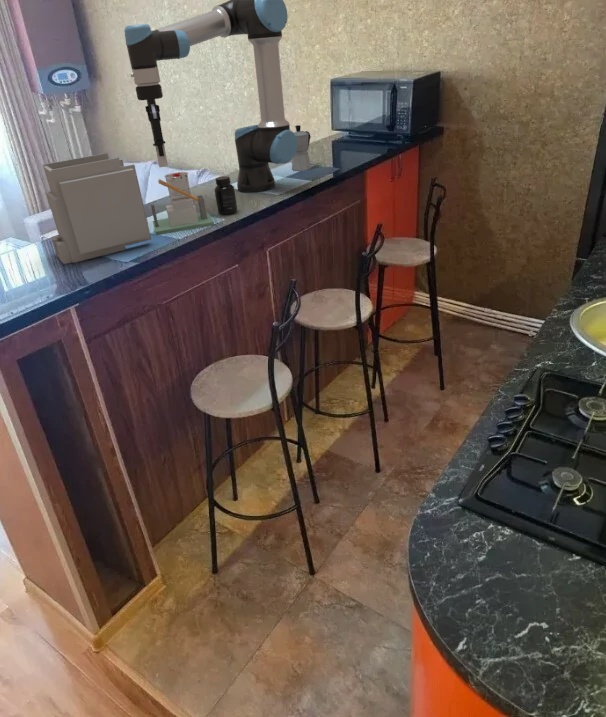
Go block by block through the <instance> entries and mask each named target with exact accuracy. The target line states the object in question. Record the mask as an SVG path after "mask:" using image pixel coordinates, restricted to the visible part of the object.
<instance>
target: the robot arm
mask: <svg viewBox="0 0 606 717" xmlns="http://www.w3.org/2000/svg"><path fill="white" fill-rule="evenodd" d="M288 17H289V16H288V9H287V6H286V3H285V1H284V0H227V1H226V2H223V3H220V4H218V5H215V6H214V7H213V8H212V9H211V11H208V12H205V13H202V14H199V15H196V16H192V17H190V18H187V19H183V20H180V21H178V22H174V23H172V24H168V25H165V26H163V27H159V28H157V29H154V30H152V29H151V26H150V25H149V24H147V23H146V24H145V23H144V24H132V25H126V26H125V28H124V37H125V45H126V49H127V52H128V58H129V63H130V69H131V71H132V73H130V77H131V78H133V81H134V85H137V86H135V92H136V97H137V100H139V101H146V103H147V105H145V106H144V108H145V112H146V113H147V118H148V121H149V123H150V127H151V131H152V137H153V140H152V141H153V143H152V146H153V147H155V152H156V156H157V157H156V158H157V162H158V167H159V168H166V167H169V162H168V159H167V153H166V148H165V144H166V141H165V140H164V136H163V130H162V125H161V119H162V118H161V113H160V111H161V108H160V106H159V104H156V100H158V99H162V98H163V97H164V95H163V89H162V85H161V84H159V83H160V82H161V78H160V77H161V76H160V72H159V68H158V62H157V61H165V60H166V61H167V60H168V61H169V60H180V59H183V58H187V57H188V56H189V54H190V52H191V51H190V50H191V47H192V46H195V45H197V44H198V45H199V44H200V43H203V42H206V41H209V40H212V39H214V38H218V37H221V38H227V37H231V36H238V35H239V36H241V35H247V41H248V42H249V43H250V44H251V45H252V47H253V54H254V55H253V56H254V64H255V67H254V68H255V76H256V83H257V94H258V105H259V112H260V122H259V123H258V124H254V125H249V126H243V127H240V128H237V129H235V131H234V143H235V147H236V148H235V150H236V156H237V161H238V162H237V163H238V168H239V169H238V175H237V182H236V186H237V188H236V189H237V191H238V192H243V193H257V192H263V191H268V190H271V189H274V188H275V187H276V180H275V178H274V175H273V173H272V169H271V168H270V164H269V163H271V164H276V165H280V164H281V165H282V164H287V163H290V162H291V161H292V158H293V156H294V155H295V154H296V151H297V146H298V142H297V137H296V135H294V132H293V130H291V128H290V126H291V125H290V122H289V121H288V120H287V119H286V117H285V106H284V105H285V104H284V94H283V93H284V92H283V84H282V72H281V71H282V69H281V61H280V50H279V49H280V48H279V43H280V41H281V39H282V38H283V30H284V29H285V27H286V26H287V25H286V24H287V22H288Z"/></svg>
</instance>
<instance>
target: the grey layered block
mask: <svg viewBox="0 0 606 717" xmlns="http://www.w3.org/2000/svg"><path fill="white" fill-rule="evenodd" d="M124 164H125V163H124V160H123V159H120V158H119V157H113V158H110V156H109V153H108V152H106V153H99V154H94V155H88V156H87V155H86V156H82V157H77V158H71V159H66V160H62V161H54V162H50V163H43V164H42V167H43V171H44V174H45V177H46V181H47V183H48V187H49V190H50V191H46V192H45V195H46V198H47V202H48V204H49V208H50V211H51V214H52V218H53V221H54V225H55V227H56V231H57V234H58V235H55V236H54V235H53V236H50V239H51V242H52V244H53V245H52V246H53V248H54V251H55V254H56V256H57V258H58V259H59V260H60V261H61V263H62V264H63V265H66V264H67V265H68V264H71V263H77V262H82V261H86V260H89V259H93V258H98V257H102V256H105V255H106V256H107V255H110V254H113V253H117V252H122V251H125V250H127V248H126V247H127V246H131V245H135V244H139V243H143V242H144V243H145V242H147V241H151V240H152V237H151V236H152V235H151V231H150V228H149V222H148V218H147V214H146V211H145V210H146V209H145V205H144V201H143V195H142V193H141V187H140V183H139V178H138V174H137V170H136V165H135V164H133V163H132V164H129V165H124Z"/></svg>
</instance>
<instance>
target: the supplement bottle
mask: <svg viewBox="0 0 606 717" xmlns="http://www.w3.org/2000/svg"><path fill="white" fill-rule="evenodd" d="M215 185H216V186H215V187H214V196H215V201H216V207H217V212H218V214H219V215H220V216H230V215H234V214H236V213H237V212H238V204H237V197H236V190H235V186H234V185H233V184H232V183H231V178H230V176H227V175H224V176H219V177H218V176H217V177H215Z"/></svg>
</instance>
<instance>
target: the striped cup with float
mask: <svg viewBox="0 0 606 717" xmlns="http://www.w3.org/2000/svg"><path fill="white" fill-rule="evenodd" d="M164 178H165V182H166V183H168V184H170V185H172V186H174V187H176V188H178V189H180V190H182V191H184V192H186V193H188V194H190V195H192V194H191V188H190V181H189V172H186V171H178V172H177V171H176V172H171V173H167V174H165V175H164ZM167 191H168V194H169V195H168V196H169V198H170V202H171V203H172V200H171V197H177V196H184V195H183V194H181V193H179V192H177V191H175V190H172V189H170V188H168V187H167Z"/></svg>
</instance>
